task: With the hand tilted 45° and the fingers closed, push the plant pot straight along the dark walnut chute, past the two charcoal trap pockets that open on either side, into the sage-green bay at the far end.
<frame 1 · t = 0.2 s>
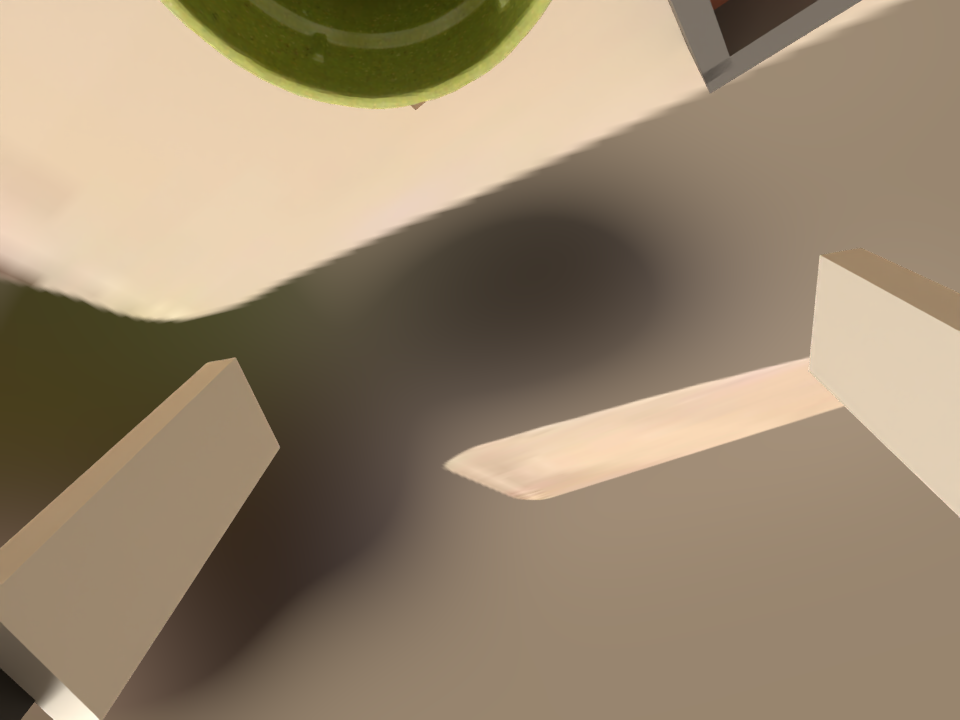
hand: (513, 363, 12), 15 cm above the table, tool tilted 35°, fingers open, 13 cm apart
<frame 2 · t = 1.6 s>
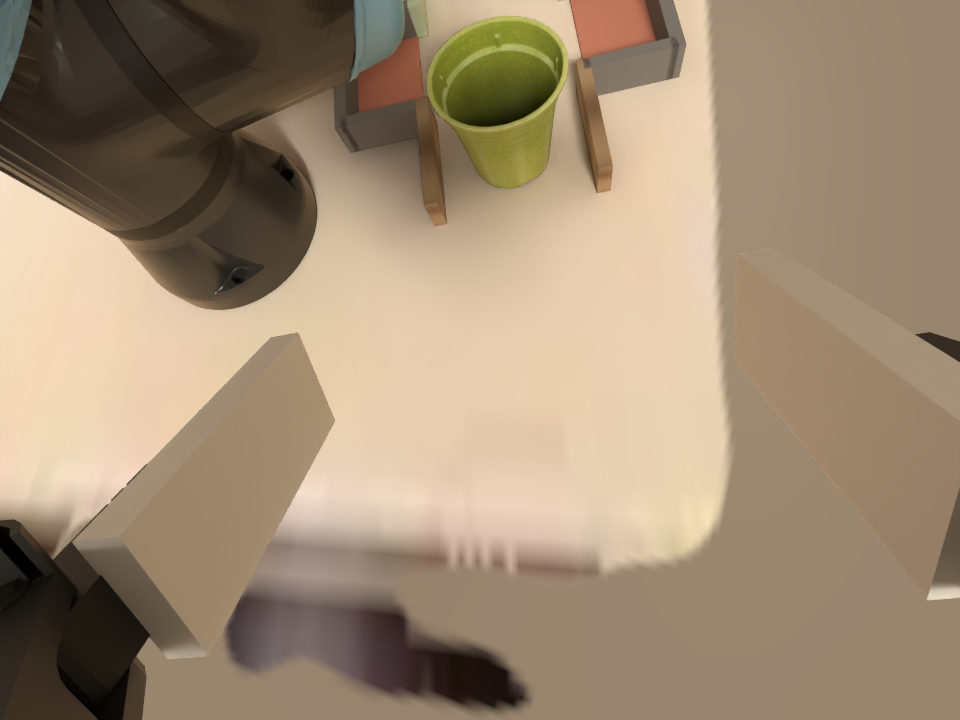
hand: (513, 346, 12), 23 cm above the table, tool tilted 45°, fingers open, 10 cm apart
plant pot: (512, 158, 42), on the table
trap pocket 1: (614, 32, 43), on the table
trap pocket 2: (390, 88, 46), on the table
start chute: (499, 70, 44), on the table
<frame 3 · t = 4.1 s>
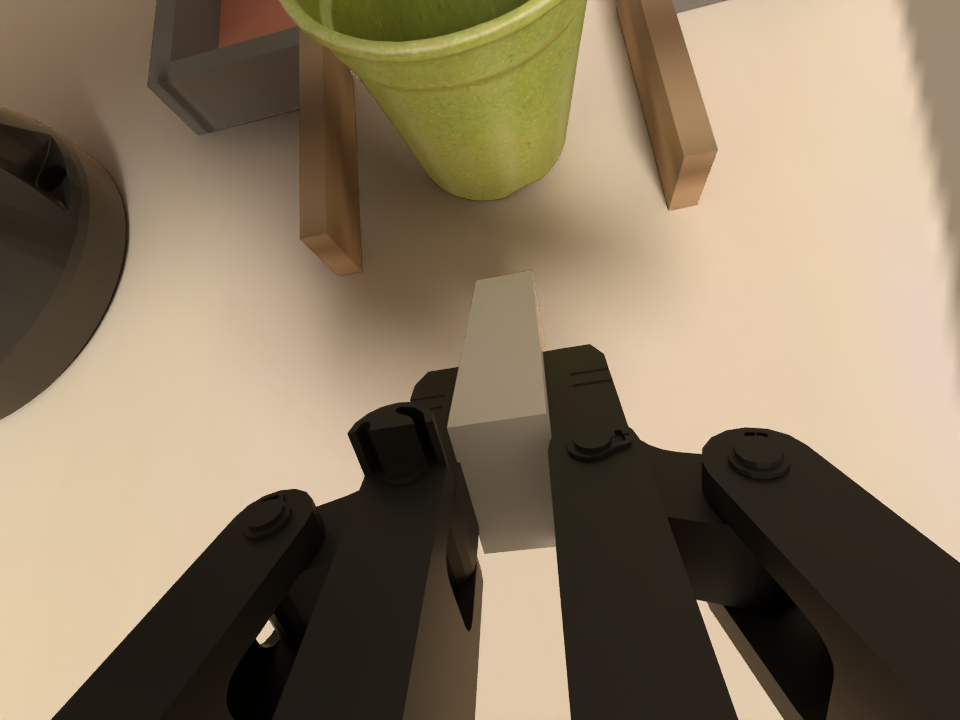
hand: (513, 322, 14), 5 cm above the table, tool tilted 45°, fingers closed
plant pot: (493, 141, 21), on the table
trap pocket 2: (275, 20, 26), on the table
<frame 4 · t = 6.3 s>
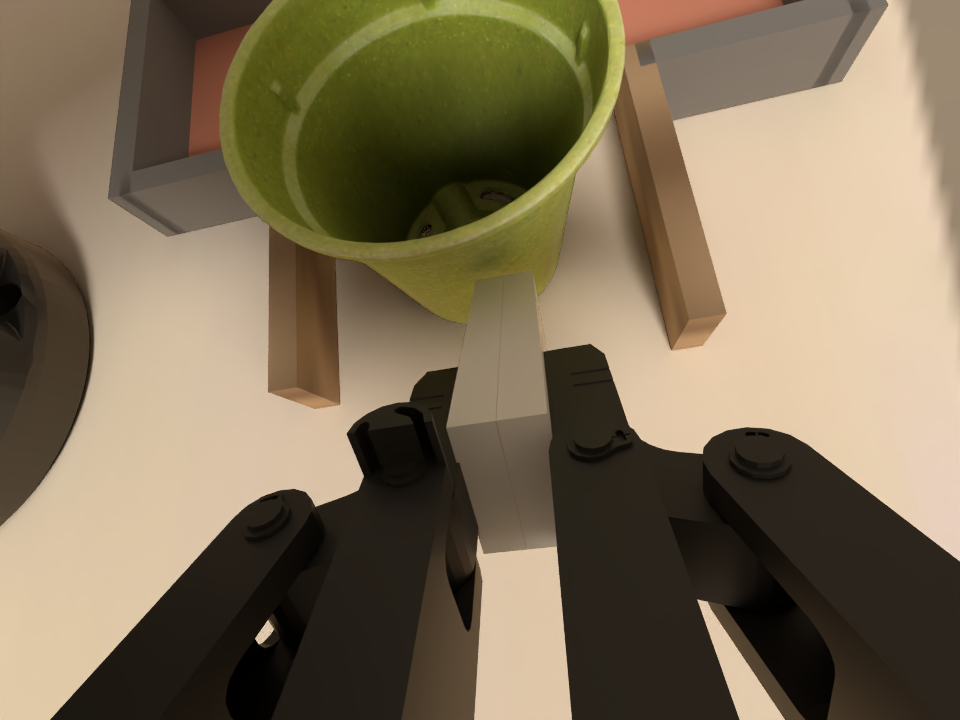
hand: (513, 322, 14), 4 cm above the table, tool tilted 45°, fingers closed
plant pot: (481, 252, 20), on the table, touching gripper
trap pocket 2: (250, 108, 24), on the table
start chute: (457, 71, 22), on the table
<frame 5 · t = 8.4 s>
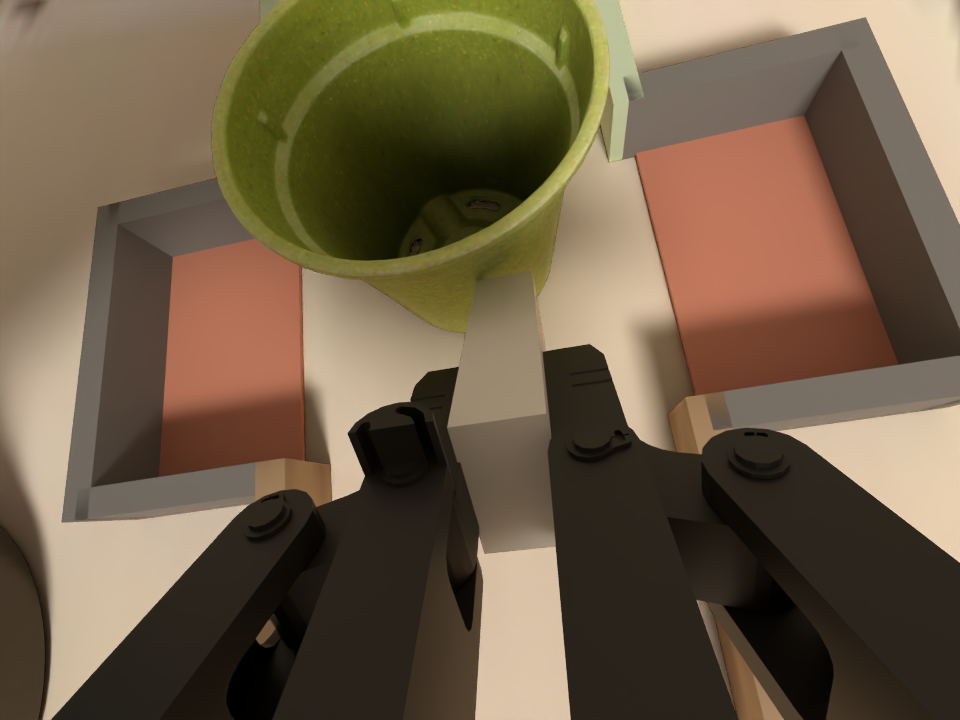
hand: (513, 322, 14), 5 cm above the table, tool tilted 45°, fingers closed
plant pot: (474, 260, 20), on the table, touching gripper
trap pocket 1: (753, 256, 18), on the table
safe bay: (447, 97, 22), on the table
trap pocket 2: (234, 354, 21), on the table
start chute: (476, 333, 19), on the table
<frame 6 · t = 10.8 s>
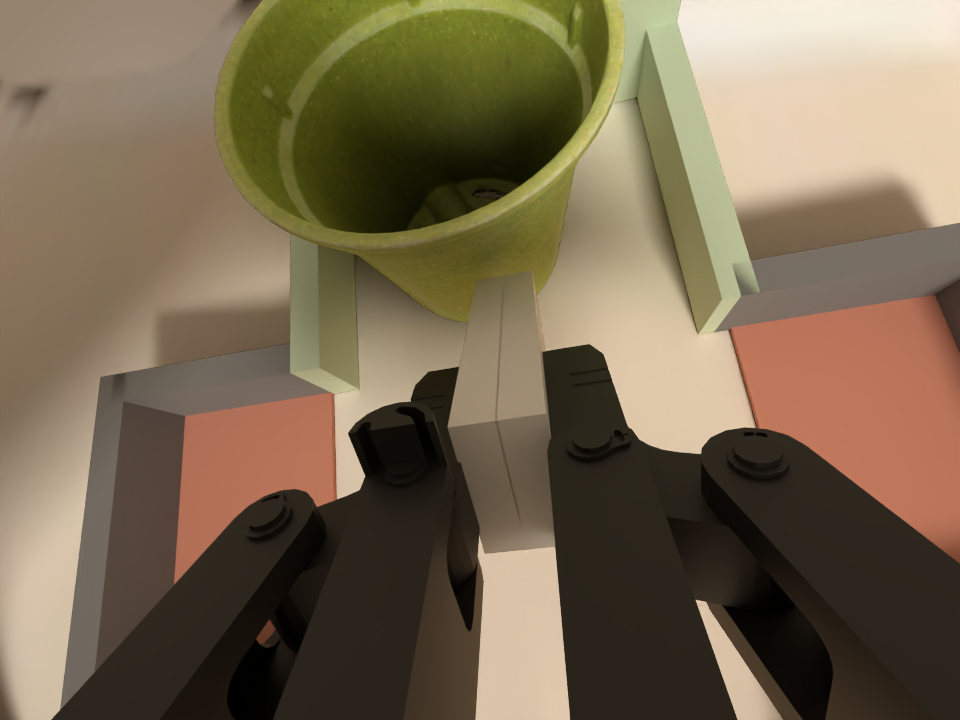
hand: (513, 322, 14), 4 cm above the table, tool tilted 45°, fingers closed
plant pot: (479, 250, 20), on the table
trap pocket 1: (882, 471, 15), on the table
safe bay: (502, 238, 19), on the table
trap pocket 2: (256, 544, 18), on the table
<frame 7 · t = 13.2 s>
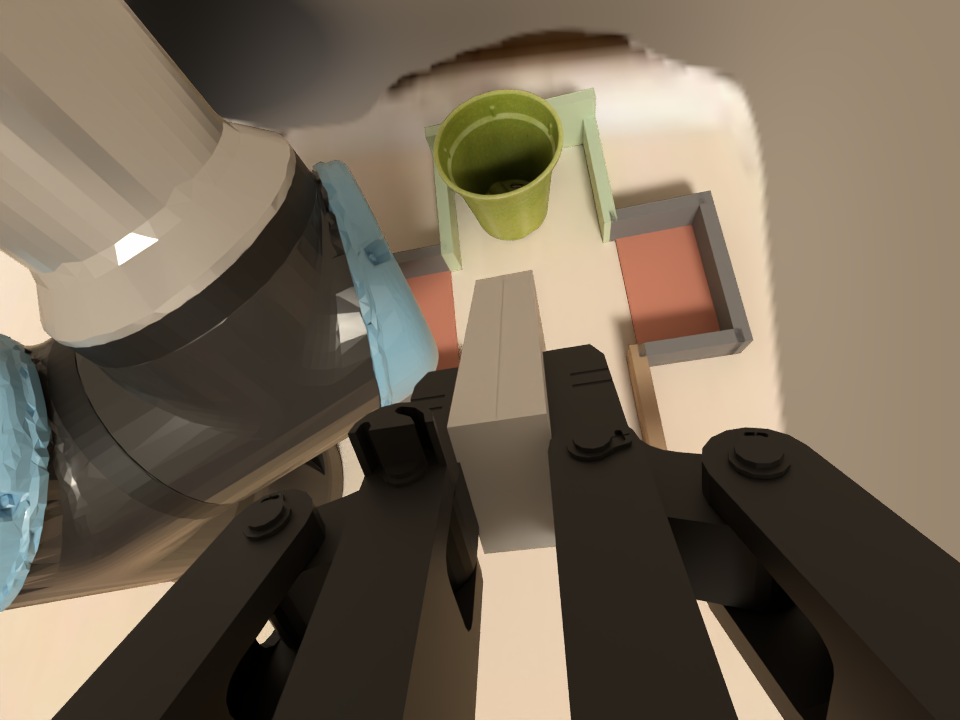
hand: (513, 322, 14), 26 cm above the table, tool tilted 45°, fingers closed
plant pot: (513, 211, 44), on the table
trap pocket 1: (666, 288, 39), on the table
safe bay: (523, 205, 44), on the table
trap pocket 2: (421, 330, 43), on the table
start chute: (540, 322, 41), on the table
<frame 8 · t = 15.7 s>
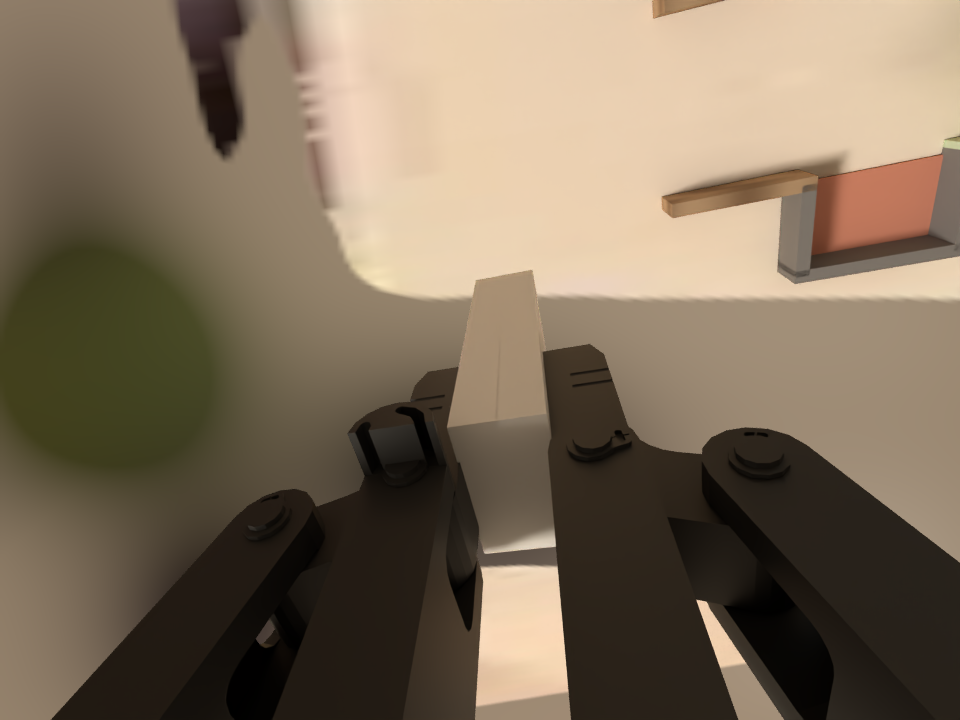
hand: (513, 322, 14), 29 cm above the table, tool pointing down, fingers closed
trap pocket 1: (862, 208, 39), on the table
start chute: (865, 67, 35), on the table
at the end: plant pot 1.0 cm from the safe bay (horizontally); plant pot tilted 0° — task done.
